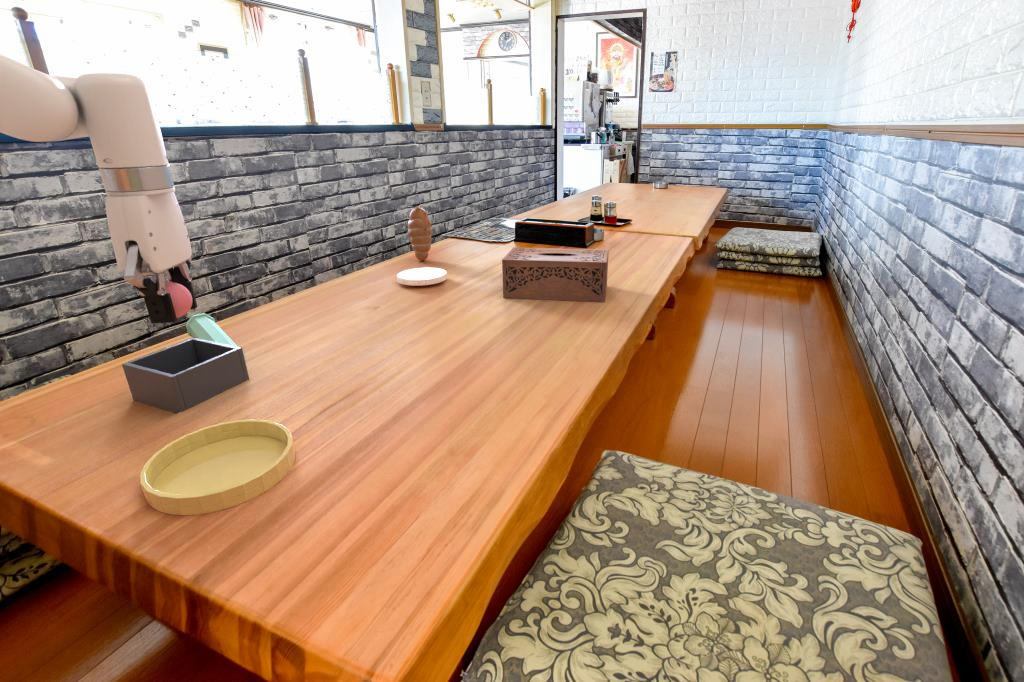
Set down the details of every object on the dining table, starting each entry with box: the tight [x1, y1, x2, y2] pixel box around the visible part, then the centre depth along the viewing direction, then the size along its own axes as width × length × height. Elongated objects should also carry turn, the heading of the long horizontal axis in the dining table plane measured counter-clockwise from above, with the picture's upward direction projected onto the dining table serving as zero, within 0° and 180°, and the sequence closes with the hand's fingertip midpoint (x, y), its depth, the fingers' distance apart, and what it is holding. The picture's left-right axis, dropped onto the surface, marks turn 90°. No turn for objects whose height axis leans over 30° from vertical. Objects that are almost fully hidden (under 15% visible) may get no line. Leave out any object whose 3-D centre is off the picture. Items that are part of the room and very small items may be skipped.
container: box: [185, 312, 247, 364], centre depth 105 cm, size 6×6×25 cm
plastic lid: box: [396, 266, 448, 287], centre depth 151 cm, size 14×14×2 cm
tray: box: [139, 418, 296, 516], centre depth 68 cm, size 17×17×3 cm
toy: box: [165, 281, 192, 318], centre depth 74 cm, size 5×5×5 cm
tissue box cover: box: [501, 246, 610, 303], centre depth 138 cm, size 26×14×10 cm, turn 79°
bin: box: [121, 337, 250, 414], centre depth 89 cm, size 13×13×7 cm
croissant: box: [407, 204, 433, 262], centre depth 172 cm, size 9×8×18 cm
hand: (175, 314), depth 75 cm, fingers closed on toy, 4 cm apart
